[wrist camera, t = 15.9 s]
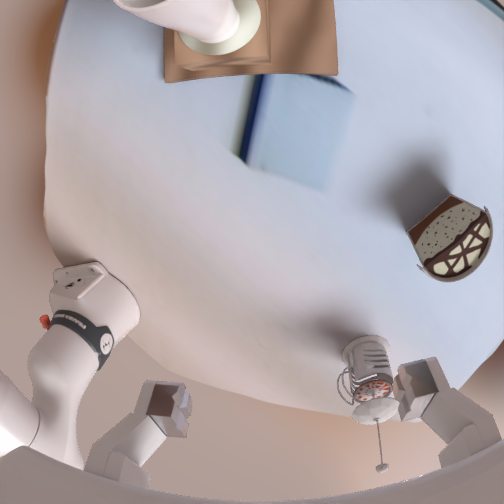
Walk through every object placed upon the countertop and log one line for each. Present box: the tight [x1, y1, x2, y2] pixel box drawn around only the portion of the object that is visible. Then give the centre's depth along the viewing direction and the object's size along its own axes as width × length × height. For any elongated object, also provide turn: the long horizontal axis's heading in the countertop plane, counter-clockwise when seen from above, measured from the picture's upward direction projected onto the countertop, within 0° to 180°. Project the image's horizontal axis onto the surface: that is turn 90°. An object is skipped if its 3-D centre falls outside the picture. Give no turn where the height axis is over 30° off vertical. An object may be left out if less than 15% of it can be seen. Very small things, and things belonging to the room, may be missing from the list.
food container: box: [407, 194, 493, 282], centre depth 33 cm, size 12×6×10 cm, turn 136°
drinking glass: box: [113, 0, 240, 43], centre depth 16 cm, size 7×7×15 cm
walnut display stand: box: [164, 0, 338, 83], centre depth 25 cm, size 22×16×8 cm
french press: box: [337, 335, 399, 473], centre depth 39 cm, size 10×12×25 cm
